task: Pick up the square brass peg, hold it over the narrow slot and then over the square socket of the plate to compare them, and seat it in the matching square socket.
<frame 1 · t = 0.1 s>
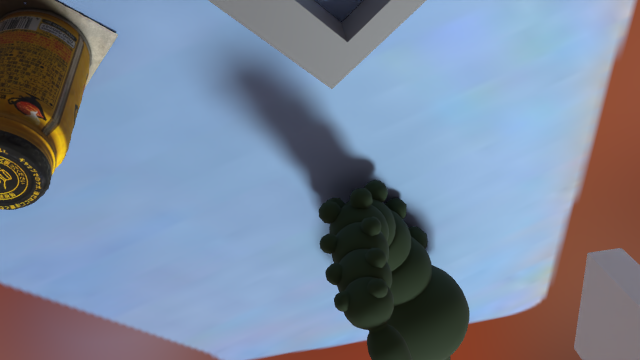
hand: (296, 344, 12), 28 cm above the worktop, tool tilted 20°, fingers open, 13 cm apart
toy figurine: (383, 231, 55), on the worktop
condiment: (30, 39, 36), on the worktop
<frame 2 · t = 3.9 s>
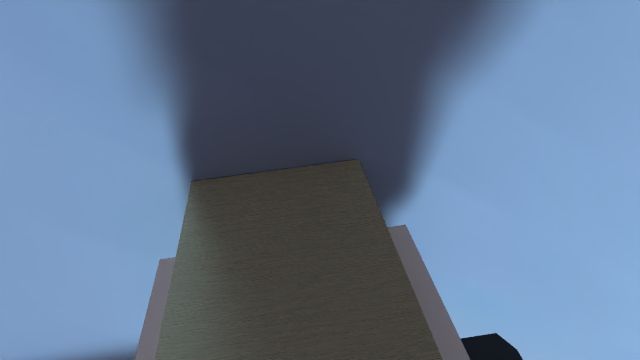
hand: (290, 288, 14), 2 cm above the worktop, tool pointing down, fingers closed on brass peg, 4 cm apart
brass peg: (286, 240, 16), on the worktop, touching gripper
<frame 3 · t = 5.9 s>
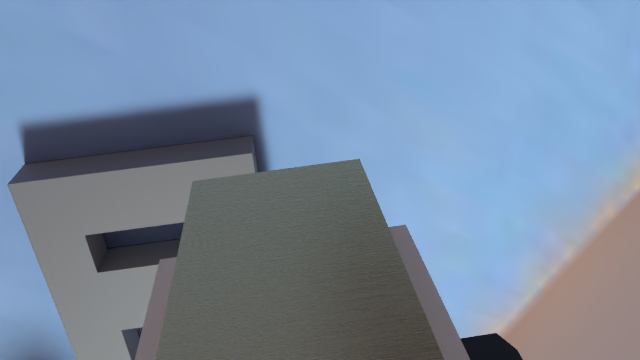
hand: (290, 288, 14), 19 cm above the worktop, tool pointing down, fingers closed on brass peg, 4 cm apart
brass peg: (286, 240, 16), point 17 cm above the worktop, touching gripper
socket plate: (174, 282, 37), on the worktop
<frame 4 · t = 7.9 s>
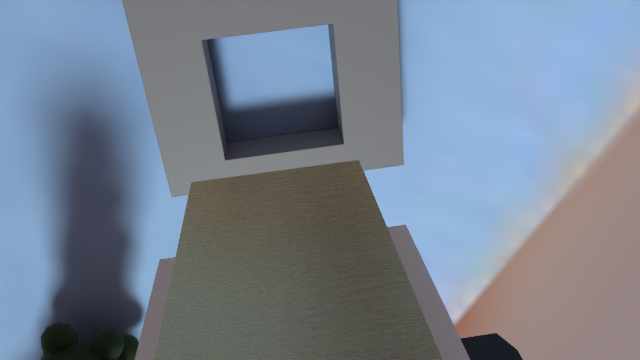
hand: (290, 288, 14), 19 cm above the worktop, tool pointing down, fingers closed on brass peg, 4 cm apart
brass peg: (285, 241, 16), point 17 cm above the worktop, touching gripper
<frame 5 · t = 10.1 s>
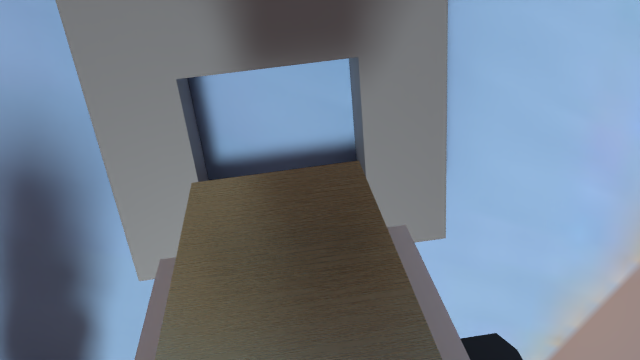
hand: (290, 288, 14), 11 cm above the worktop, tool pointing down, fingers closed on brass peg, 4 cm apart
brass peg: (286, 242, 16), point 9 cm above the worktop, touching gripper
socket plate: (261, 18, 22), on the worktop
when the fingers open (4 cm above the worktop, at t = 12.0 s): brass peg drops 2 cm, resting in socket plate.
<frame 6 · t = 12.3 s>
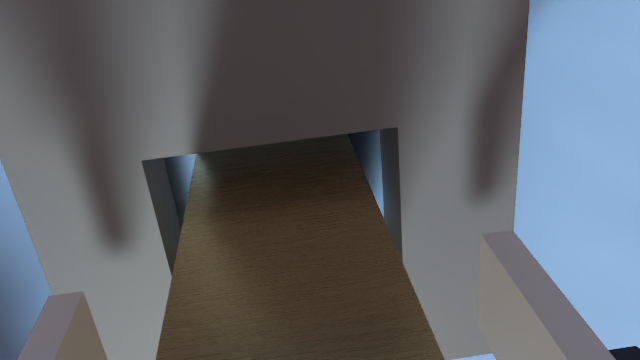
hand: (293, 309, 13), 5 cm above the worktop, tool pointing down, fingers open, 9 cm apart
brass peg: (281, 207, 18), resting in socket plate
socket plate: (262, 68, 16), on the worktop
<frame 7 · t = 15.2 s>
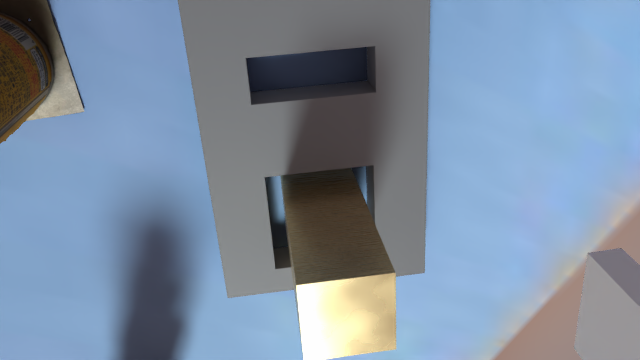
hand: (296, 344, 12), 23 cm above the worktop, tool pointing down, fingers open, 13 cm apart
brass peg: (317, 200, 37), resting in socket plate
socket plate: (313, 136, 35), on the worktop
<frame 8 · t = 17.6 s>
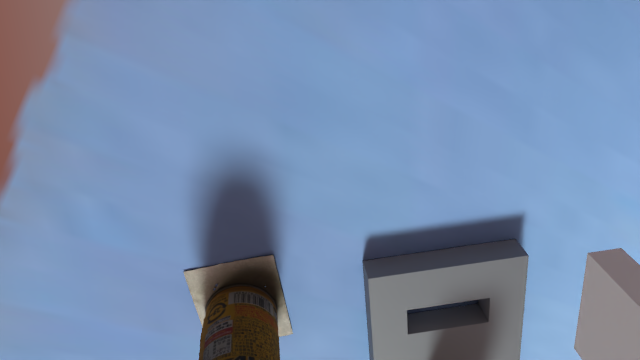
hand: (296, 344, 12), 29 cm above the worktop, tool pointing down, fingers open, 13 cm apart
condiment: (240, 301, 47), on the worktop
socket plate: (439, 336, 51), on the worktop
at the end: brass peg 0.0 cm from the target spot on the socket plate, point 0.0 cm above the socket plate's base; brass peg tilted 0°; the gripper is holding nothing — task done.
